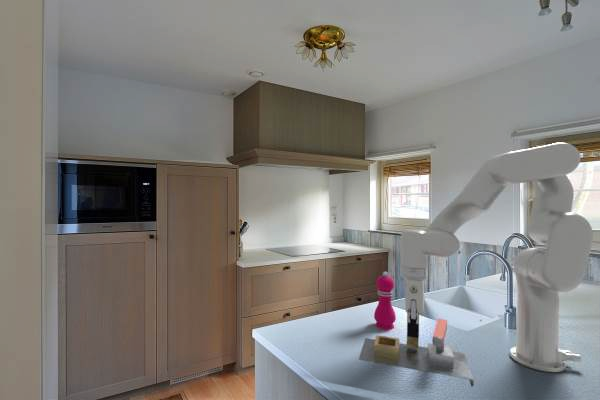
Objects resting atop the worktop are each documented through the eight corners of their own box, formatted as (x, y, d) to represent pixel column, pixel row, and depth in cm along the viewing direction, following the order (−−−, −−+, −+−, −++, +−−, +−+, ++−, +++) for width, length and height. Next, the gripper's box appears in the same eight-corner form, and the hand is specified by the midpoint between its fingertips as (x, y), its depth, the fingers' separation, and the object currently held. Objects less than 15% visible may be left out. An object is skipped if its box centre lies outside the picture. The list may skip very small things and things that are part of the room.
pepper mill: (396, 334, 106) (397, 274, 105) (374, 332, 107) (375, 273, 107) (394, 326, 113) (395, 270, 112) (373, 324, 114) (374, 268, 114)
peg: (418, 343, 95) (418, 303, 94) (418, 348, 92) (419, 307, 91) (406, 342, 96) (407, 302, 96) (406, 346, 93) (407, 305, 92)
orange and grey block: (437, 338, 93) (437, 317, 93) (447, 340, 92) (447, 319, 92) (431, 362, 80) (431, 337, 80) (442, 365, 79) (443, 339, 79)
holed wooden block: (399, 348, 93) (399, 338, 93) (398, 359, 87) (398, 348, 87) (376, 345, 95) (376, 335, 95) (373, 355, 89) (374, 344, 89)
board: (464, 357, 91) (464, 342, 91) (473, 384, 78) (473, 367, 78) (365, 341, 100) (365, 328, 100) (358, 363, 87) (358, 348, 87)
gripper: (429, 279, 84) (428, 348, 85) (426, 267, 100) (425, 325, 100) (399, 277, 87) (398, 344, 87) (401, 265, 102) (400, 322, 103)
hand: (412, 333), depth 94 cm, fingers closed on peg, 3 cm apart
